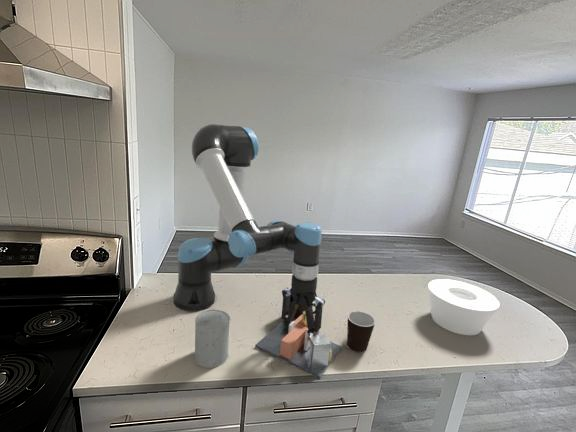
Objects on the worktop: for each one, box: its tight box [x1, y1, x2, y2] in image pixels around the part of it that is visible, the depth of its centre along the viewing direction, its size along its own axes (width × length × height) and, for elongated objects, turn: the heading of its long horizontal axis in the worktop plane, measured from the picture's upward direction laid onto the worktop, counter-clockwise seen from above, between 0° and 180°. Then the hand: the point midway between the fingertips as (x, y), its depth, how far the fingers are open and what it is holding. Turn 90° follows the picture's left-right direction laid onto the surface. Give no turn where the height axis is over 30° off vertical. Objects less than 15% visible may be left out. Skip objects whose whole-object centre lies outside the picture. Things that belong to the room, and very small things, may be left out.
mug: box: [283, 295, 316, 323], centre depth 116 cm, size 9×12×9 cm
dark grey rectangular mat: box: [255, 320, 342, 379], centre depth 102 cm, size 22×16×1 cm
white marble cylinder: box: [193, 309, 231, 369], centre depth 93 cm, size 10×10×12 cm
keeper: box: [308, 331, 332, 368], centre depth 95 cm, size 6×6×7 cm
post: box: [301, 311, 308, 328], centre depth 106 cm, size 3×3×8 cm
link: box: [280, 315, 321, 359], centre depth 102 cm, size 16×7×5 cm, turn 149°
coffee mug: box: [346, 310, 376, 353], centre depth 105 cm, size 12×9×10 cm
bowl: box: [427, 278, 501, 336], centre depth 124 cm, size 24×24×12 cm
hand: (298, 344), depth 102 cm, fingers open, 5 cm apart
